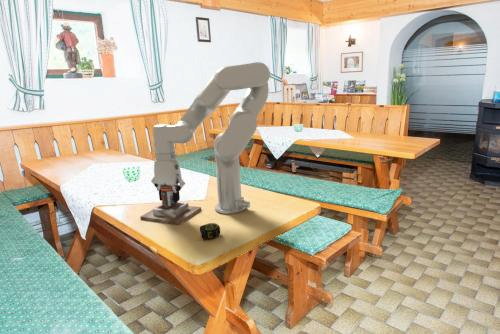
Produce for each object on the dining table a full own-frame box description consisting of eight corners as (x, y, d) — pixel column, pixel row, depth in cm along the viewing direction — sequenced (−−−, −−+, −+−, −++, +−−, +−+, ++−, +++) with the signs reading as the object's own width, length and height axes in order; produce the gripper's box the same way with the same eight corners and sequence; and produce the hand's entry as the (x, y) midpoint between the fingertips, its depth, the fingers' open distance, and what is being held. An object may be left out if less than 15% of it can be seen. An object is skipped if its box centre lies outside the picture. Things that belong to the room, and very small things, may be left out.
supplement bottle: (160, 206, 142) (157, 179, 140) (173, 202, 146) (171, 176, 143) (166, 210, 138) (163, 182, 135) (180, 206, 141) (177, 179, 138)
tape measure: (199, 233, 124) (198, 223, 123) (219, 231, 125) (218, 221, 124) (201, 242, 118) (200, 231, 117) (222, 239, 119) (221, 229, 118)
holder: (201, 210, 146) (200, 201, 145) (178, 225, 132) (177, 215, 131) (165, 205, 153) (164, 197, 152) (140, 219, 139) (139, 210, 138)
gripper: (189, 155, 137) (193, 199, 141) (153, 153, 144) (158, 195, 148) (178, 159, 130) (182, 206, 134) (141, 157, 137) (146, 201, 141)
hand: (169, 200), depth 141 cm, fingers closed on supplement bottle, 6 cm apart
